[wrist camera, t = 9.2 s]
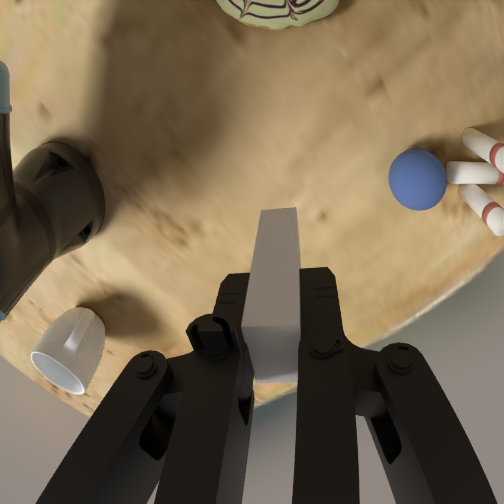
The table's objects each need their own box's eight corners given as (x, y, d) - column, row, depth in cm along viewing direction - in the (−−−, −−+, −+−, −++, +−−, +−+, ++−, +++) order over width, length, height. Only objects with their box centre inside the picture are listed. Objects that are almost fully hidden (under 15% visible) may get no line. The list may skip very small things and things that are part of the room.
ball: (451, 211, 27) (410, 188, 31) (461, 156, 23) (415, 137, 28) (418, 229, 25) (374, 202, 30) (427, 168, 22) (377, 146, 26)
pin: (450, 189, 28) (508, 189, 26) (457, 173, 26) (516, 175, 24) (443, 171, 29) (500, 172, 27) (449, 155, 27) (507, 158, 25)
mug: (76, 274, 44) (32, 331, 34) (130, 312, 47) (96, 376, 36) (61, 316, 52) (28, 365, 41) (106, 347, 55) (79, 400, 44)
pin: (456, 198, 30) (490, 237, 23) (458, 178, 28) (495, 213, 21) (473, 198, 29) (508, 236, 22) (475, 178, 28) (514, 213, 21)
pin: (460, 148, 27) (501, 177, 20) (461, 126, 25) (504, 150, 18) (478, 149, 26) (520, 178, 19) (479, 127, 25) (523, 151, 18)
